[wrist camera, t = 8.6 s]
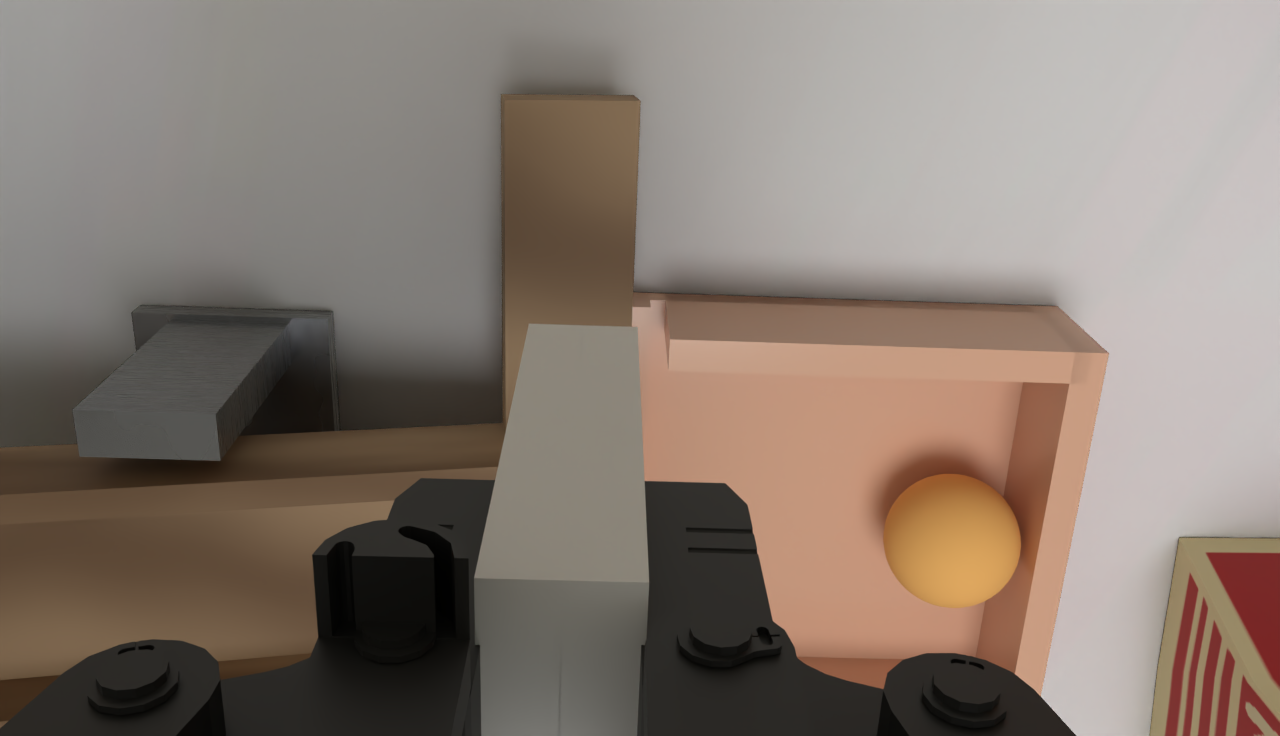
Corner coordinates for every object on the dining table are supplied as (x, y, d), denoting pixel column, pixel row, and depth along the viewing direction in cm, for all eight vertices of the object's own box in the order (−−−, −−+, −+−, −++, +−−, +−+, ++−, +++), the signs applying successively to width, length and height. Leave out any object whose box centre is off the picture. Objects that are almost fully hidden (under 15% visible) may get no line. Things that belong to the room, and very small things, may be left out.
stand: (352, 633, 34) (295, 786, 28) (180, 629, 34) (87, 781, 28) (332, 311, 31) (262, 409, 25) (140, 305, 30) (22, 401, 25)
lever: (607, 622, 33) (630, 695, 30) (-373, 706, 28) (-464, 803, 25) (625, 89, 27) (656, 113, 24) (-587, 78, 22) (-735, 106, 19)
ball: (1031, 597, 32) (972, 652, 29) (915, 549, 34) (851, 597, 31) (1053, 481, 30) (993, 528, 28) (931, 440, 32) (866, 480, 30)
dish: (991, 671, 35) (1029, 750, 32) (596, 662, 35) (594, 740, 32) (1057, 306, 31) (1109, 353, 28) (607, 291, 30) (606, 337, 27)
